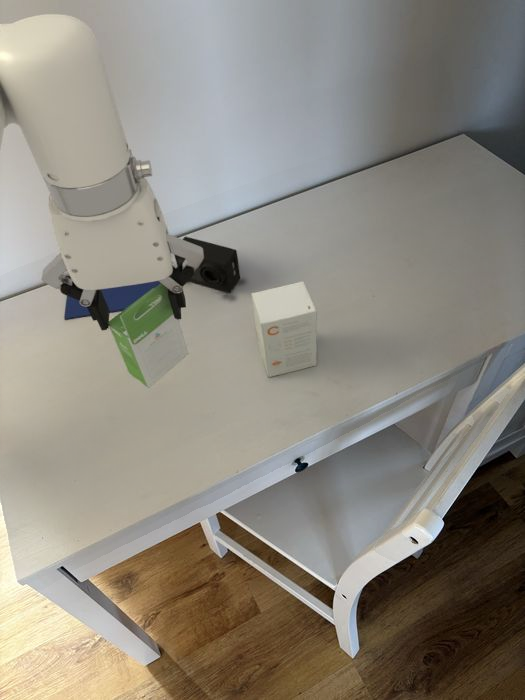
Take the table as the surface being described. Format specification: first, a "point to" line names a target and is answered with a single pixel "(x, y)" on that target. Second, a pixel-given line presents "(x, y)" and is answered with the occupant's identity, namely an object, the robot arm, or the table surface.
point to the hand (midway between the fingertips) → (141, 314)
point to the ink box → (149, 336)
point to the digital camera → (215, 266)
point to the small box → (285, 328)
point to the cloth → (111, 299)
